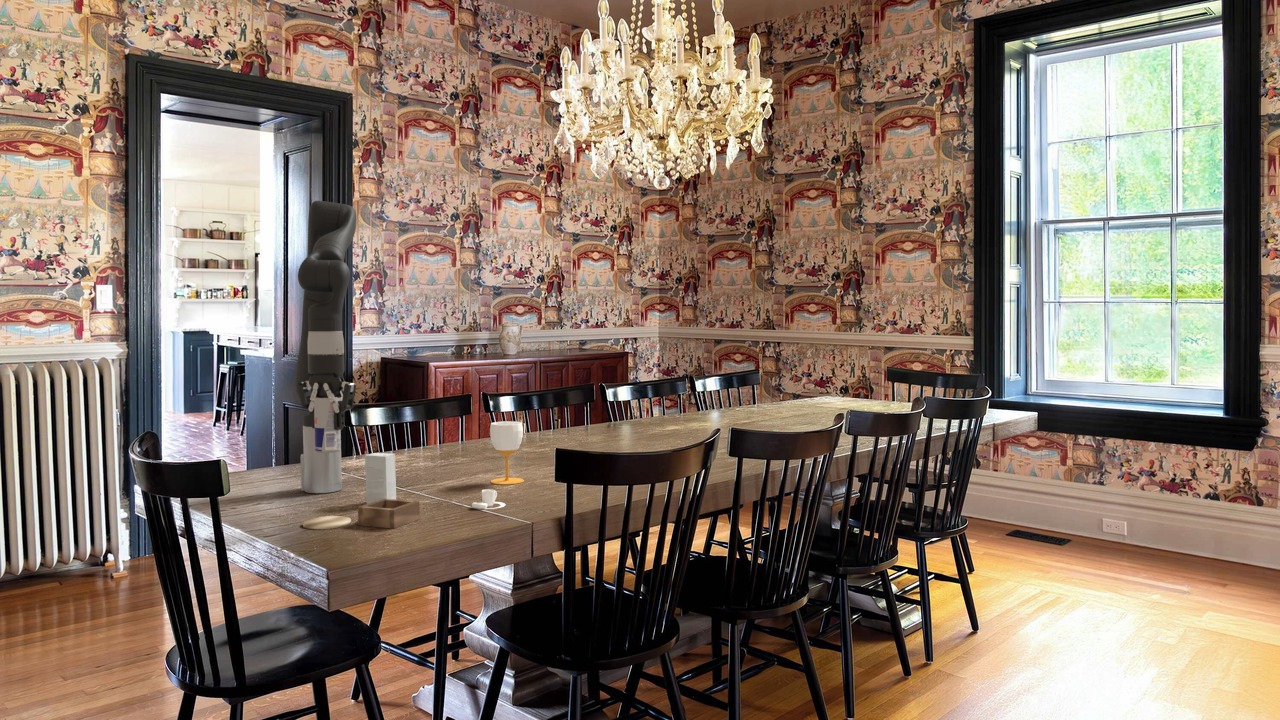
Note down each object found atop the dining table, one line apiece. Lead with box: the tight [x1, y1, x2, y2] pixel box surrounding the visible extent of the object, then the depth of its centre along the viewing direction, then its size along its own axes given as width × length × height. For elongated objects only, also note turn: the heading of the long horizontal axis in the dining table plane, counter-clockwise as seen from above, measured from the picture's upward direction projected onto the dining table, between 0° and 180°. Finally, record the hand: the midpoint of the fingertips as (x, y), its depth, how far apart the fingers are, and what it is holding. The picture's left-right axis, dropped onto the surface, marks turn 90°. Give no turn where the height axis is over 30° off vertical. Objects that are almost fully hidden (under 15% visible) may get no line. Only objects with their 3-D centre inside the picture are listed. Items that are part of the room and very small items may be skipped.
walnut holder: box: [357, 498, 421, 529], centre depth 201 cm, size 9×9×4 cm
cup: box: [489, 420, 525, 486], centre depth 247 cm, size 9×9×16 cm
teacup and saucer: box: [471, 488, 506, 510], centre depth 217 cm, size 9×8×4 cm
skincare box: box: [364, 452, 397, 504], centre depth 221 cm, size 6×4×12 cm
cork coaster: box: [302, 515, 352, 530], centre depth 200 cm, size 10×10×1 cm
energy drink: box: [314, 397, 342, 453], centre depth 199 cm, size 5×5×12 cm
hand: (327, 428), depth 199 cm, fingers closed on energy drink, 5 cm apart
